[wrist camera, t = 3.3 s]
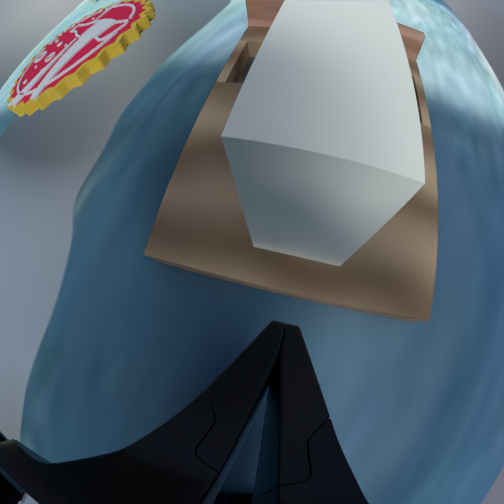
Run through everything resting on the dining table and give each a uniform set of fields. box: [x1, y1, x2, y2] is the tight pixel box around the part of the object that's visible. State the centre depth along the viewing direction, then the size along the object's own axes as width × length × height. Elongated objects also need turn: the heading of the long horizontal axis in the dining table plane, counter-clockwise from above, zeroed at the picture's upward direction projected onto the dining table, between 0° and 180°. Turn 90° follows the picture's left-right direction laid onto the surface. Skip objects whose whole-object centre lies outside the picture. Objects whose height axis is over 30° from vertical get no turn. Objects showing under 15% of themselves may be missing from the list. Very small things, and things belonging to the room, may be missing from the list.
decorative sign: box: [7, 0, 156, 117], centre depth 29 cm, size 30×3×30 cm
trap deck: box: [144, 0, 438, 322], centre depth 17 cm, size 26×18×6 cm
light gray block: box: [221, 0, 425, 266], centre depth 12 cm, size 14×5×10 cm, turn 166°
